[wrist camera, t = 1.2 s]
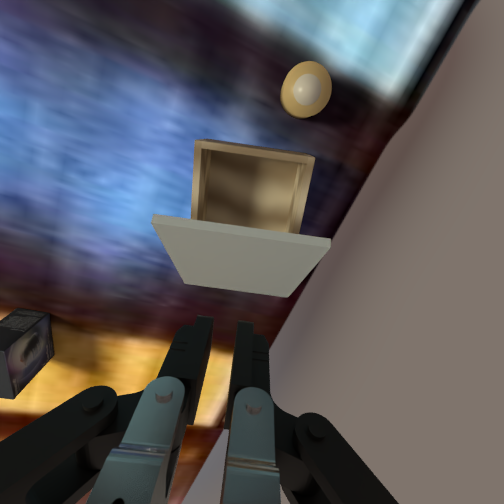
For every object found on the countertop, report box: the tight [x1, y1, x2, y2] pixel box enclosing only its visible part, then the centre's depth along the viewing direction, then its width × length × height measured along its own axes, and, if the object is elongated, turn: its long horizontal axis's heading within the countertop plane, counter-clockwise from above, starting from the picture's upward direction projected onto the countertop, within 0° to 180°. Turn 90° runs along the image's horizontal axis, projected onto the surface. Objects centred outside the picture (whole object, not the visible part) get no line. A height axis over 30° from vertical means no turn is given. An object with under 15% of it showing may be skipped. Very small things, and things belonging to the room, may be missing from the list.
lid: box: [151, 214, 331, 297], centre depth 31 cm, size 18×14×1 cm
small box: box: [0, 308, 54, 399], centre depth 49 cm, size 11×6×10 cm, turn 170°
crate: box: [191, 139, 315, 234], centre depth 39 cm, size 18×14×8 cm
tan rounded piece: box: [280, 61, 332, 119], centre depth 35 cm, size 6×6×5 cm
